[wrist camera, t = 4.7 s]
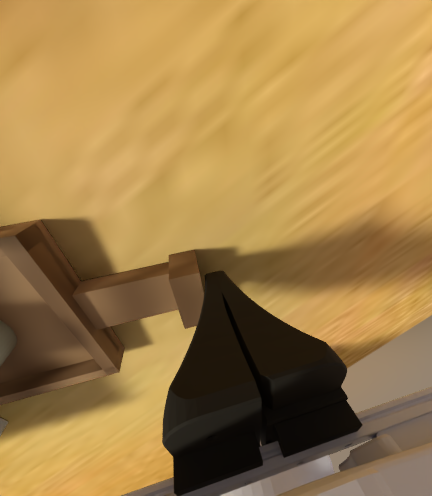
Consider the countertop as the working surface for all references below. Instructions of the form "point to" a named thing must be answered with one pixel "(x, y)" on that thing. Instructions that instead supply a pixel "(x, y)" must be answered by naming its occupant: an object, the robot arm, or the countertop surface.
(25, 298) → the tray
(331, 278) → the countertop surface
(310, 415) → the robot arm
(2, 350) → the cream rounded block
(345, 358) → the countertop surface
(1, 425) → the large grey box
